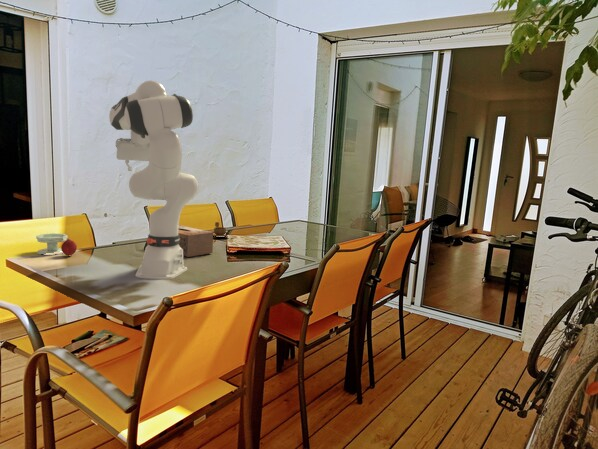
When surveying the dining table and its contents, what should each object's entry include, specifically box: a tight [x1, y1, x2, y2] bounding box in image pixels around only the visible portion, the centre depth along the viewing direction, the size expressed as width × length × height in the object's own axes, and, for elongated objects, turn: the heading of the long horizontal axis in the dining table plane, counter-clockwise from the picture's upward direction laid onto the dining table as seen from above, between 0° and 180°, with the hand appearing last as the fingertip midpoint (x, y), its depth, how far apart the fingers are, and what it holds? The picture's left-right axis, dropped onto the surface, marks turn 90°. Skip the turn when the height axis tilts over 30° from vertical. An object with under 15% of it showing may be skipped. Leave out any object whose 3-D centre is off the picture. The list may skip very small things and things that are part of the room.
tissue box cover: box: [178, 224, 214, 258], centre depth 208 cm, size 26×14×10 cm, turn 52°
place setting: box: [212, 221, 231, 236], centre depth 256 cm, size 18×20×6 cm
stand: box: [35, 232, 69, 255], centre depth 187 cm, size 11×11×8 cm
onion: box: [60, 237, 78, 256], centre depth 182 cm, size 6×6×8 cm
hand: (141, 171), depth 190 cm, fingers open, 8 cm apart
